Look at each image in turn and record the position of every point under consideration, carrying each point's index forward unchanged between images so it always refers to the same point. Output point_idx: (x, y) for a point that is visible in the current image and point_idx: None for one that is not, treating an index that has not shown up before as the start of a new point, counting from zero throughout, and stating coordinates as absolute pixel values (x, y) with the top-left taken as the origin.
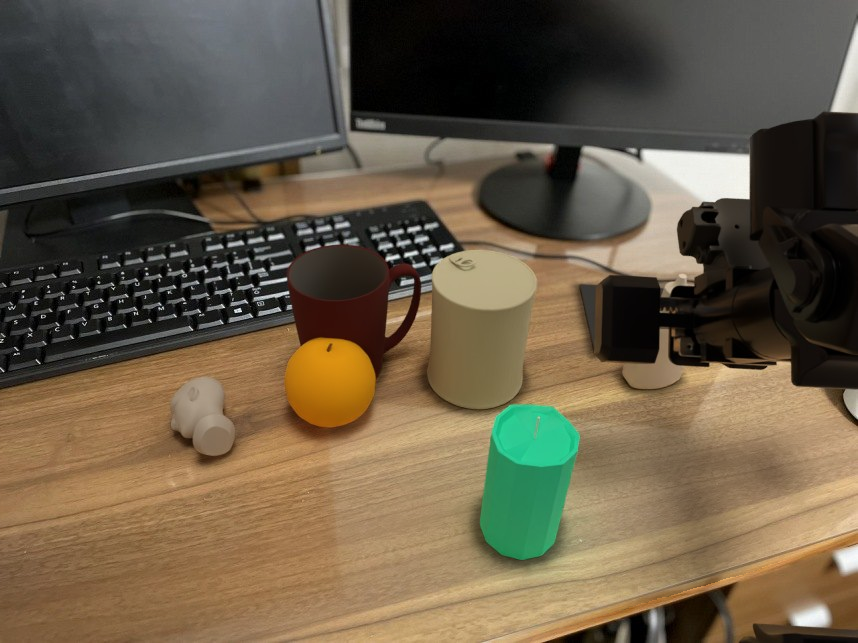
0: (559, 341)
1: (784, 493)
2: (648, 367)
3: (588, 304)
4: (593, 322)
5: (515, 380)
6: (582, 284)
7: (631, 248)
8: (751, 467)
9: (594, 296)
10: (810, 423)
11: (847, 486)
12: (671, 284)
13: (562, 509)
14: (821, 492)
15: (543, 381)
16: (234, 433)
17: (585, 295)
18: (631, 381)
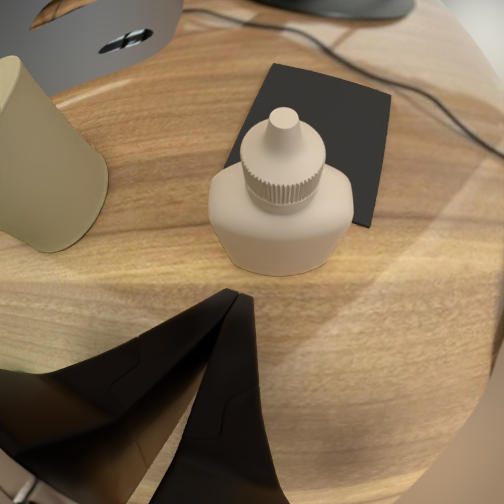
0: (185, 150)
1: (333, 485)
2: (243, 260)
3: (263, 94)
4: (251, 124)
5: (61, 230)
6: (276, 64)
7: (372, 35)
8: (321, 446)
9: (281, 83)
10: (450, 384)
11: (413, 480)
12: (264, 129)
13: None
14: (378, 487)
15: (122, 220)
16: None
17: (269, 79)
18: (230, 259)
